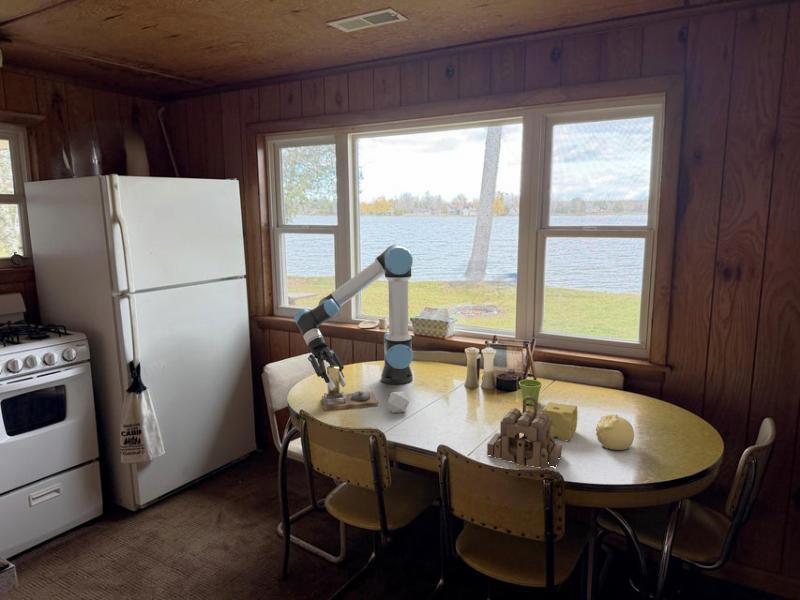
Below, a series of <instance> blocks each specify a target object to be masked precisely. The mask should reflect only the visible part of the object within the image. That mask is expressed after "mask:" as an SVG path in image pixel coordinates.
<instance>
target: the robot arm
mask: <svg viewBox="0 0 800 600" xmlns="http://www.w3.org/2000/svg"><path fill="white" fill-rule="evenodd" d="M413 261H414V259H413V254H412V253H411V251H410V250H409V249H408V248H406V247H405V246H403V245H401V244H392V245H390V246H388V247H387V248H386V249H385V250H384V251H383V252H382V253H380V254H379V255H378V256H377V257H375V260H374V261H373V262H372V263H371V264H369V265H368V266H366V268H364V269H362V270H361V271H359V273H357V274H355V275H354V276H353V277H351V278H350V279H349V280H347V281H346V282H345V283H343V284H342V285H340V286H339V287H337V288H336V289H335V290H333V291H332V292H331V293H330V294H328V295H327V296H325V297H323V298H321V299H320V300H319V302H318V304H317V306H316V307H315V308H313V309H311V310H309V309H308V308H304V309H300V310H298V311H296V313H295V314H294V316H293V318H294V321H295V323H296V326H297V328H298V329H299V331H300V334H301V336H302V337H303V339H304V341H305V343H306V345H307V347H308V350H309V351H310V353H311V354H309V356H308V357H307V360H308V361H309V362H310V364H311V366H312V367H313V370H314V372H315V374H316V375H317V377H319V378H321V379H323V380H324V382H325V383H326V384H327V386H328V385H329V387H330V389H331V391H332V390H333V389H334V388H335V385H334V383H333V381H332V379H331V377H330V375H329V374H327V368H326V365H325V362H326V363H328V365H329V366H333V365H335V366H339V381H340V386H341V388H345V387H346V385H347V382H346V380H345V375H344V373H343V370H344V369H345V367H344V364H343V363H342V361H341V360H340V357H339V356H338V353H337V350H336V348H334V349H332V350H331V349H330V348H329V347H328V345H327V342H326V341H325V338H324V336H323V334H322V332H321V331H320V329H319V326H321V325H322V324H323V323H326V322H327V321H328V320H330V319H332V318H334V317H336V315H338V314H339V313H340V307H342V306H343V305H344V304H346V303H347V302H349V301H350V300H352V299H354V297H356V296H357V295H358V294H360V293H361V292H363V291H364V290H366V289H367V288H368V287H370V286H371V285H372V284H374V283H375V282H377V281H378V280H379V279H381V278H383V277H384V278H385V279H386V280H387V281H388V284H387V285H388V332H386V333H384V335H383V350H384V351H383V354H384V363H383V368H382V371H381V375H380V378H381V379H380V380H381V382H383V383H385V384H389V385H390V384H391V385H404V384H408V383H410V382H412V381H413V379H414V378H413V377H414V375H413V371H412V368H411V366H410V365H411V363H412V362H413V359H414V353H413V347H412V346H413V345H412V341H413V339H412V336H411V335H410V333H409V280H410V279H411V278H412V267H413Z"/></svg>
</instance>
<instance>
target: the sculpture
mask: <svg viewBox="0 0 800 600" xmlns="http://www.w3.org/2000/svg"><path fill="white" fill-rule="evenodd" d="M595 432H596V433H595V435H596V436H597V440H598V442H599V443H600V444H601V445H602V446H603V447H605V449H608V448H609V449H608V450H614V451H615V450H616V451H617V450H619V451H621V450H628V449H629V448H630V447H631V446H632V444H633V443H634V439H635V430H634V427H633V425H632V424H631V422H630V421H629V420H627V419H626V418H624V417H621V416H619V415H618V414H617V413H616V414H607V415H603V416H601V417H600V420H598V422H597V424H596V427H595Z"/></svg>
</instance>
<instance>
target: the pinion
mask: <svg viewBox="0 0 800 600" xmlns="http://www.w3.org/2000/svg"><path fill="white" fill-rule="evenodd" d="M326 373H327V374H329V375H330V377H331V379H332V381H333V383H334V385H335V388H334V389H333V390H332V391H331V389H330V387H329V385H328V384H327V393H328V394H338V393H340V392H341V391H340V390H341V389H340V388H341V387H340V386H341V384H340V381H339V366H335V365H333V366H331V365H329V366H327V367H326Z"/></svg>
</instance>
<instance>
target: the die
mask: <svg viewBox="0 0 800 600" xmlns="http://www.w3.org/2000/svg"><path fill="white" fill-rule="evenodd" d="M386 403H387V406H388V407H389V409H390V411H391V412H392V413H393V414H396V413H397V414H398V413H405V412H406V411H407V408H408V406H409V403H410V400H409V398H408V397H407V395H406V393H405V391H392V392H390V394H389V397H388V400H387V402H386Z"/></svg>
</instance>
